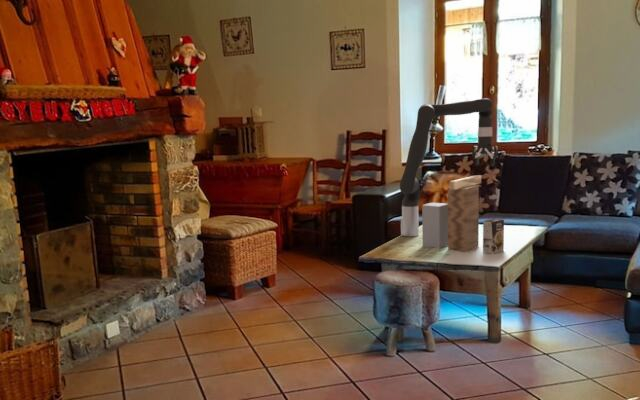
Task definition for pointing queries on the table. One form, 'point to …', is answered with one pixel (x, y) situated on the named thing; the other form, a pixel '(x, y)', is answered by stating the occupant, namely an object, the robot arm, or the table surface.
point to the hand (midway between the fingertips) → (485, 165)
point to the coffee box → (493, 236)
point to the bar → (465, 182)
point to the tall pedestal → (463, 218)
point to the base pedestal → (435, 224)
